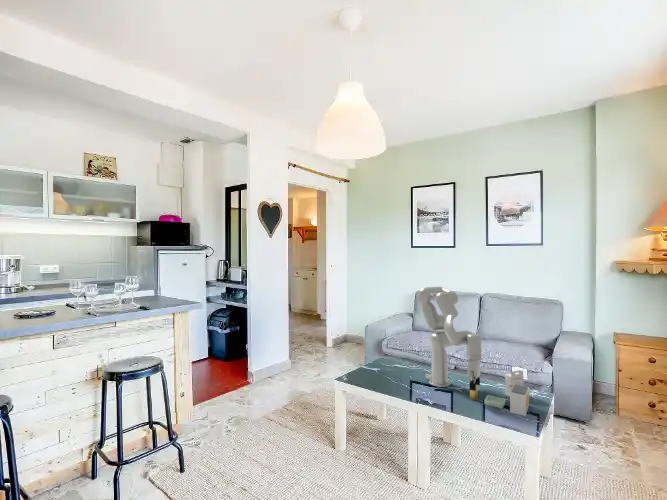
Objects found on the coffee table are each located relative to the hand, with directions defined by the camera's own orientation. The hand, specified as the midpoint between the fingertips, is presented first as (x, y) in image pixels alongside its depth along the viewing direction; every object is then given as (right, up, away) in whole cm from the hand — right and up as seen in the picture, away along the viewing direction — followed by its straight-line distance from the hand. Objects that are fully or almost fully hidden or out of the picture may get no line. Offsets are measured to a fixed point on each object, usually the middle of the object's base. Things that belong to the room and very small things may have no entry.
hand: (474, 387), depth 202 cm
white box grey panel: (+19, -7, -12) cm, 23 cm away
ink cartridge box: (+25, -7, +6) cm, 26 cm away
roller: (0, -7, +1) cm, 7 cm away
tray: (+9, -7, -5) cm, 12 cm away
